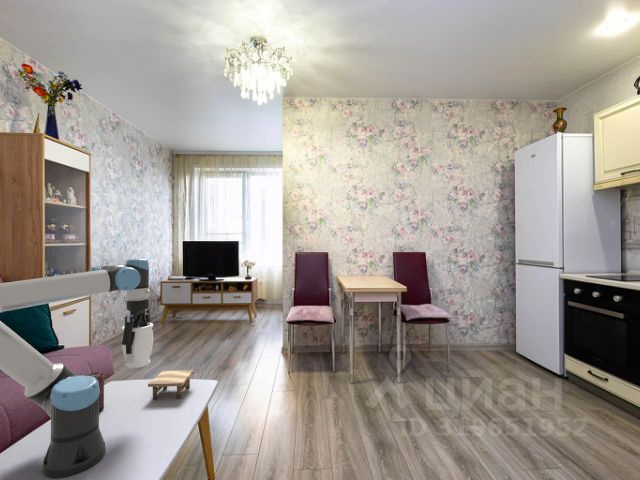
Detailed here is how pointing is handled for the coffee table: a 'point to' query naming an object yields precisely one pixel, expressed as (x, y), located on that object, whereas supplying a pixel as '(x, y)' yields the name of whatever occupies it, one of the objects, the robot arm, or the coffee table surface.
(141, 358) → the jar
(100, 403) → the can
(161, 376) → the stool
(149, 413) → the coffee table surface
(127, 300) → the robot arm
